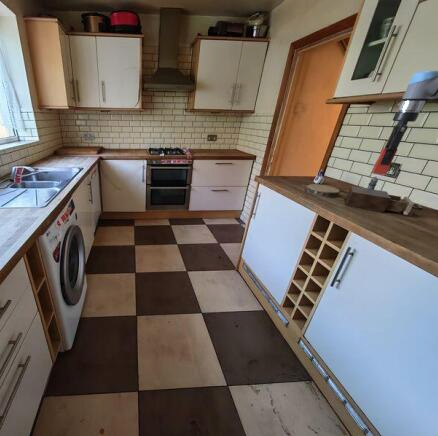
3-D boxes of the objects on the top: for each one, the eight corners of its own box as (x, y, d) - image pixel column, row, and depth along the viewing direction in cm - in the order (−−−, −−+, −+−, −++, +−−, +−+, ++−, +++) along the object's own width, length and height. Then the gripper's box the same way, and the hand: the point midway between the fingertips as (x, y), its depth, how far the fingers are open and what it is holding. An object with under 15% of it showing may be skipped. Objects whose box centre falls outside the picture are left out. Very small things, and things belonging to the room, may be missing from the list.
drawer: (413, 209, 115) (420, 198, 113) (420, 217, 106) (427, 206, 104) (367, 201, 125) (372, 191, 122) (370, 207, 116) (375, 197, 113)
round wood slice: (344, 197, 132) (346, 192, 131) (318, 197, 132) (320, 192, 130) (324, 188, 147) (325, 184, 145) (300, 188, 146) (302, 184, 145)
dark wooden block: (379, 204, 123) (386, 191, 119) (383, 212, 113) (391, 198, 110) (345, 198, 131) (351, 185, 127) (346, 205, 121) (352, 191, 117)
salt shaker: (361, 193, 139) (370, 174, 134) (374, 196, 135) (383, 176, 130) (359, 195, 136) (368, 176, 130) (372, 198, 132) (382, 178, 126)
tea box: (383, 173, 115) (395, 148, 109) (385, 174, 111) (397, 149, 106) (372, 171, 117) (383, 147, 112) (373, 173, 114) (384, 148, 108)
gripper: (392, 111, 110) (370, 160, 120) (400, 111, 98) (375, 165, 108) (414, 112, 106) (390, 162, 116) (425, 111, 94) (396, 168, 104)
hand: (383, 163), depth 112 cm, fingers closed on tea box, 4 cm apart
